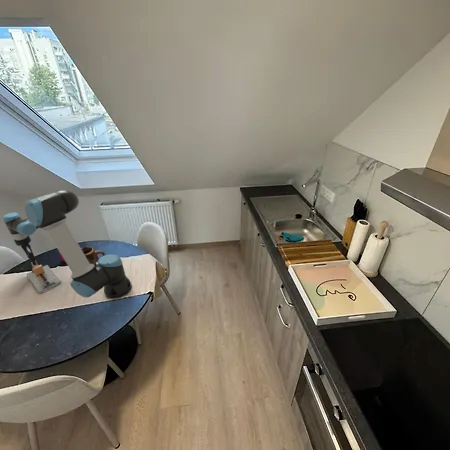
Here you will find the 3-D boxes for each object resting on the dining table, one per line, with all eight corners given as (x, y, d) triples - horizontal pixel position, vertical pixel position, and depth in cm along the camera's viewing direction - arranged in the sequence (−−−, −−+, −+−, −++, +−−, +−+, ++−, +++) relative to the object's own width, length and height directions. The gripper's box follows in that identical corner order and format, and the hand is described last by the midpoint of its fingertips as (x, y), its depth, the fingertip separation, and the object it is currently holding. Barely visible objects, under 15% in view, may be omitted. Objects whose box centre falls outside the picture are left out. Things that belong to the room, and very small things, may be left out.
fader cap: (44, 271, 161) (42, 265, 158) (35, 275, 157) (32, 269, 155) (43, 270, 162) (40, 264, 160) (34, 274, 159) (31, 268, 156)
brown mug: (107, 258, 176) (102, 242, 169) (108, 268, 166) (102, 251, 159) (75, 266, 169) (69, 249, 162) (74, 277, 159) (67, 259, 152)
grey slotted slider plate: (61, 283, 154) (60, 280, 153) (39, 294, 147) (38, 290, 145) (48, 267, 168) (46, 264, 167) (27, 276, 160) (25, 273, 159)
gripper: (31, 238, 149) (46, 269, 161) (25, 231, 157) (39, 261, 168) (16, 243, 144) (33, 275, 156) (10, 236, 152) (26, 266, 163)
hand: (36, 268), depth 162 cm, fingers closed
